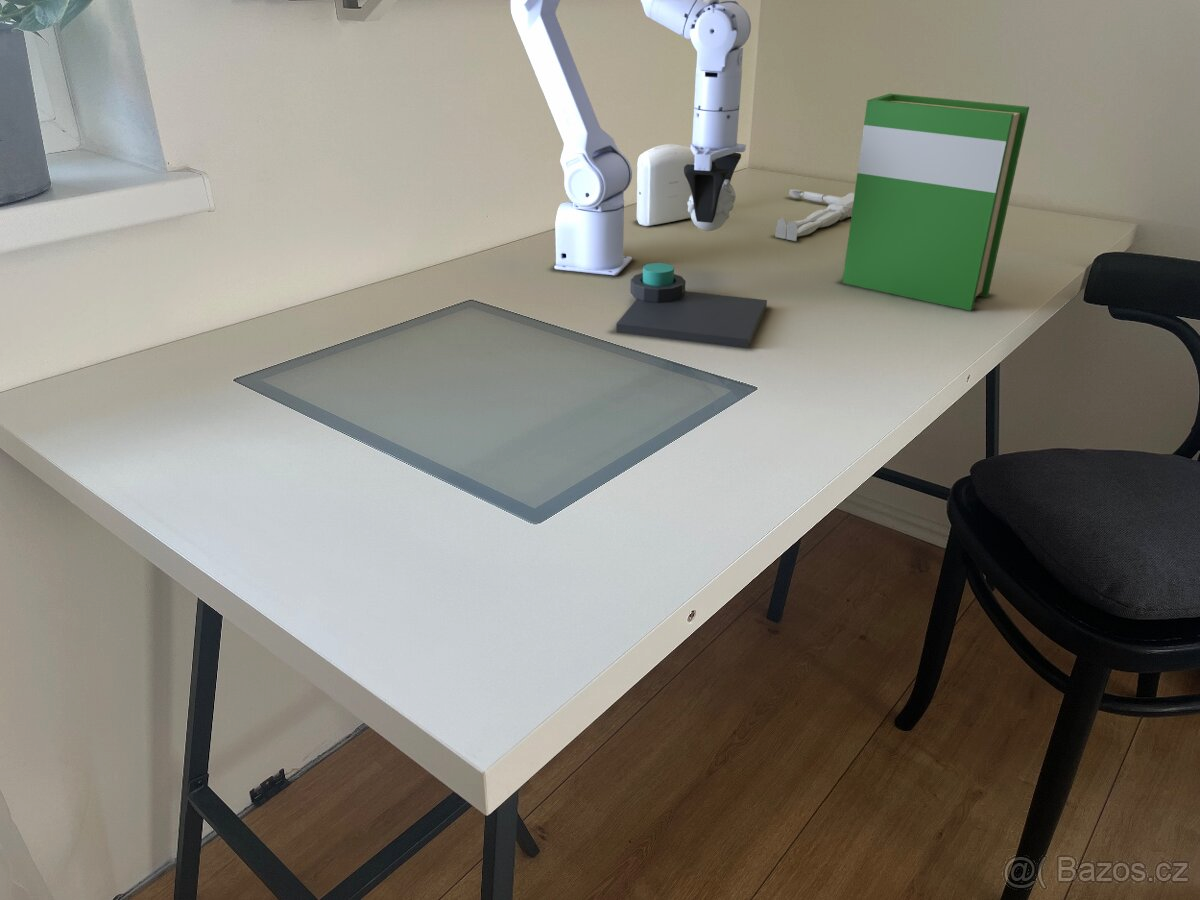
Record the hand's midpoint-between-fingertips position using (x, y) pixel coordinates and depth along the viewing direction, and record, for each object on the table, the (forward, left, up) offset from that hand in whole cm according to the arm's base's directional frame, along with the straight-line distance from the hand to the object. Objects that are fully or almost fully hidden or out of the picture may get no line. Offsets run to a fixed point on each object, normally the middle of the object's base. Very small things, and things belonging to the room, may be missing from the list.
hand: (710, 215), depth 124 cm
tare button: (-4, -10, -7) cm, 13 cm away
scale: (+1, -14, -9) cm, 17 cm away
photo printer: (-13, +29, -10) cm, 34 cm away
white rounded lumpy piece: (0, 0, -2) cm, 2 cm away
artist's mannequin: (+14, +38, -10) cm, 42 cm away
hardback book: (+28, +6, -10) cm, 30 cm away
